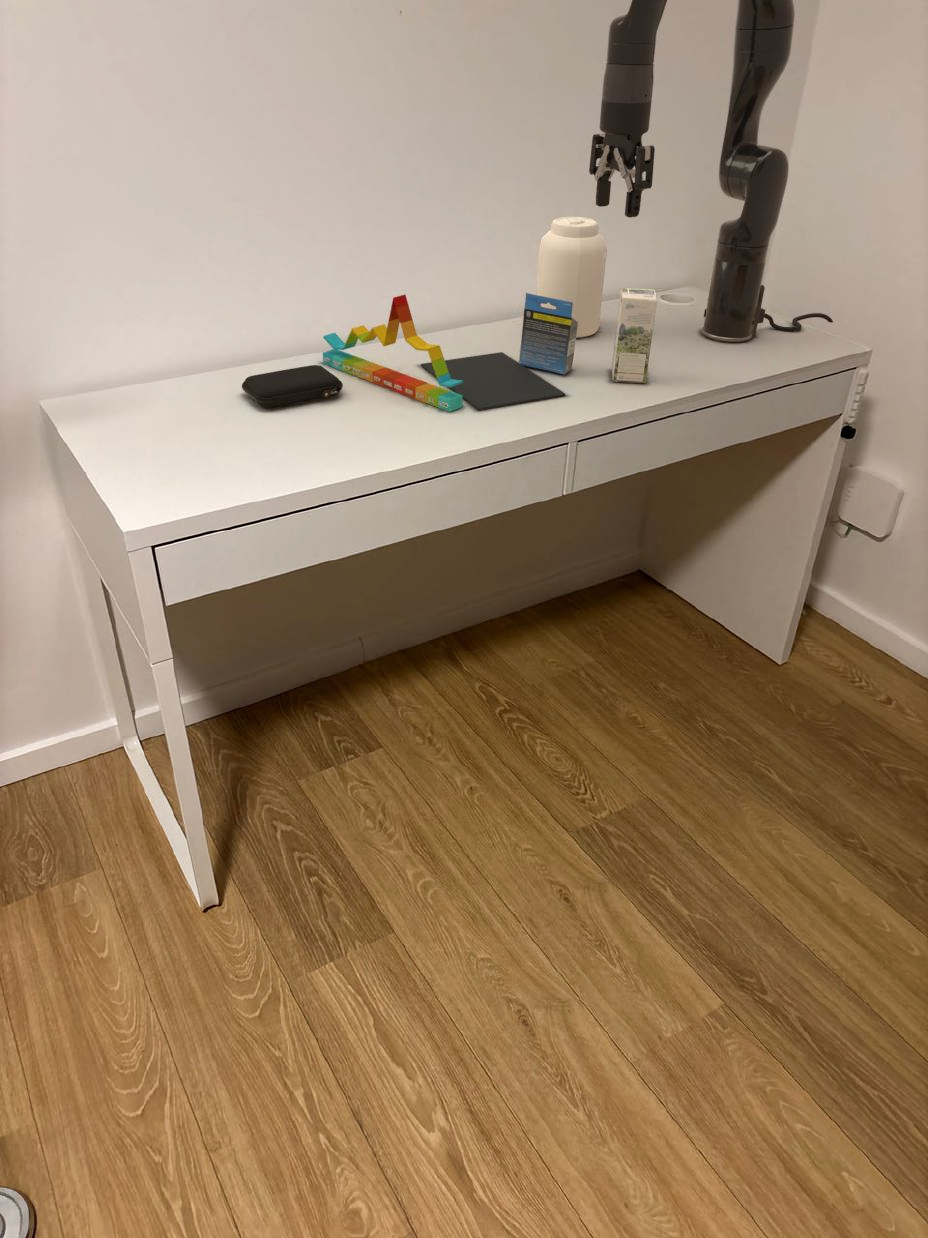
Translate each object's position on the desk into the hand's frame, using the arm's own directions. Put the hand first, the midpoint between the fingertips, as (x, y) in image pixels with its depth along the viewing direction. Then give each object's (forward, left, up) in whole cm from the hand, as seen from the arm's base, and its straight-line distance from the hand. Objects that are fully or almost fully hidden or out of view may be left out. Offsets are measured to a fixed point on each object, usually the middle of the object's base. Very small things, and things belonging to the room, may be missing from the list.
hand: (616, 210), depth 156 cm
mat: (+21, -2, -26) cm, 33 cm away
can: (-6, -21, -26) cm, 34 cm away
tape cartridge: (+9, -3, -26) cm, 28 cm away
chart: (+37, -7, -26) cm, 46 cm away
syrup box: (-2, +6, -26) cm, 27 cm away
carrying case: (+53, -8, -26) cm, 60 cm away
